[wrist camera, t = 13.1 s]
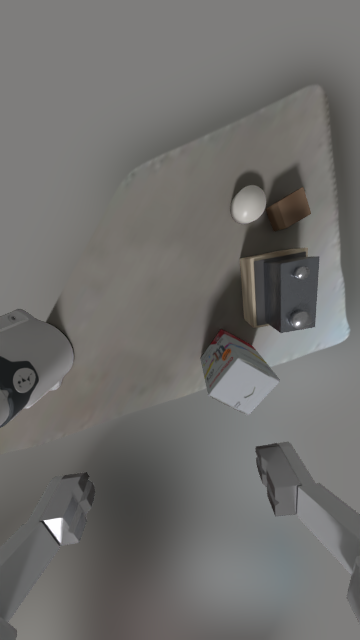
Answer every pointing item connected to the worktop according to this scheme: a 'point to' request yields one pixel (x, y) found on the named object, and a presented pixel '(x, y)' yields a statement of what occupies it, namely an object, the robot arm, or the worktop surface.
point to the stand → (259, 283)
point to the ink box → (236, 373)
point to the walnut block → (288, 210)
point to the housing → (291, 293)
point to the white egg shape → (248, 204)
